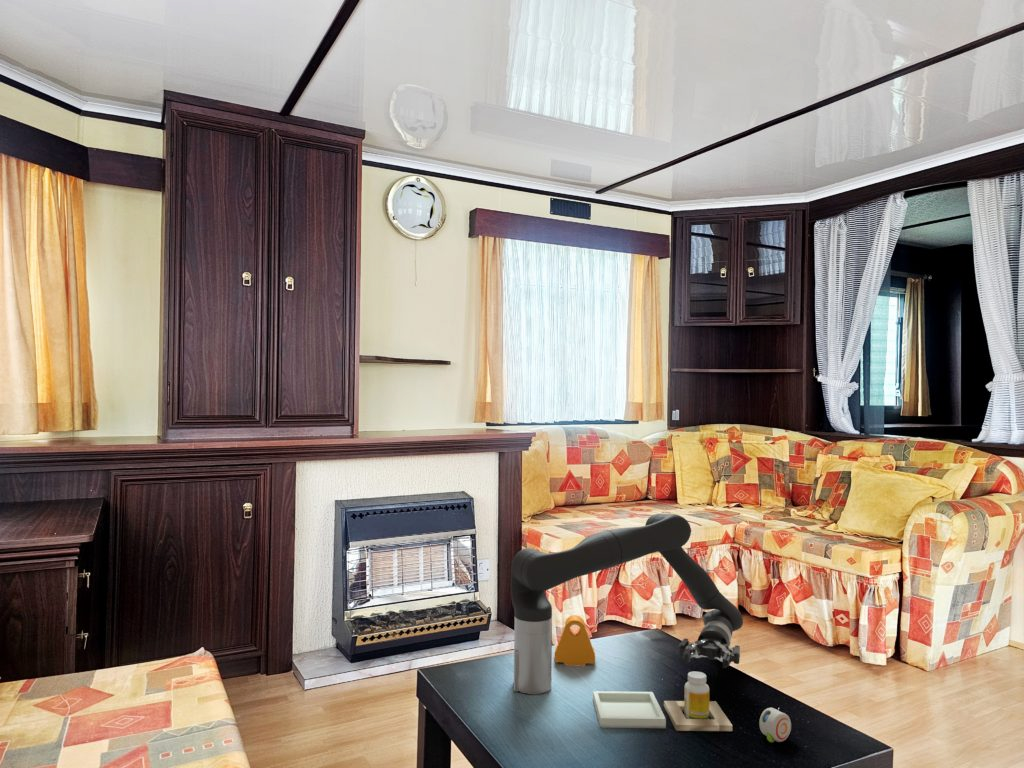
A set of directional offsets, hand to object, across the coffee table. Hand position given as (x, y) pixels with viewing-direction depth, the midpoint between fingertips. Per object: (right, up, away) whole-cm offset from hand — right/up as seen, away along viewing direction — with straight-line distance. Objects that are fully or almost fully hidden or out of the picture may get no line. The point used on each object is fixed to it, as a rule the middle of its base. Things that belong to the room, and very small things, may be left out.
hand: (705, 661), depth 164 cm
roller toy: (+9, -9, -20) cm, 23 cm away
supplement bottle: (-5, -9, -11) cm, 14 cm away
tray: (-20, -8, -9) cm, 23 cm away
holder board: (-5, -8, -11) cm, 14 cm away
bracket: (-29, -9, +23) cm, 38 cm away
